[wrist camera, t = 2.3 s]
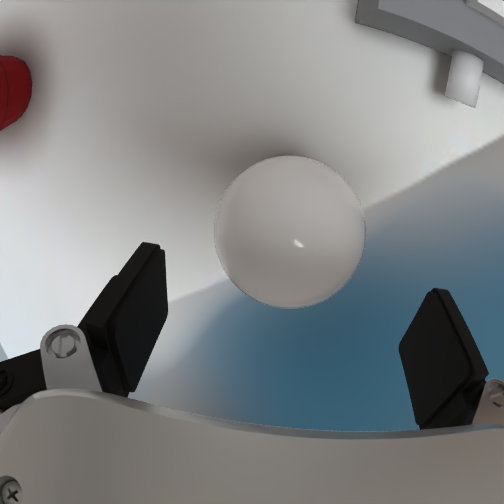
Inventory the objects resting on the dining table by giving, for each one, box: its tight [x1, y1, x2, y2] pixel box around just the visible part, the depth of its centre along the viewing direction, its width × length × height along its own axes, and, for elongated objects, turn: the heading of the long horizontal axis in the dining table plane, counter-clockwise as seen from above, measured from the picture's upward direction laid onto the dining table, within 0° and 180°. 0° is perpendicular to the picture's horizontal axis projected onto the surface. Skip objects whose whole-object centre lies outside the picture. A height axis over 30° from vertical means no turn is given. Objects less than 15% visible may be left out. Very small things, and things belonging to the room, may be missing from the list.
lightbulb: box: [214, 155, 366, 308], centre depth 15 cm, size 6×6×11 cm
